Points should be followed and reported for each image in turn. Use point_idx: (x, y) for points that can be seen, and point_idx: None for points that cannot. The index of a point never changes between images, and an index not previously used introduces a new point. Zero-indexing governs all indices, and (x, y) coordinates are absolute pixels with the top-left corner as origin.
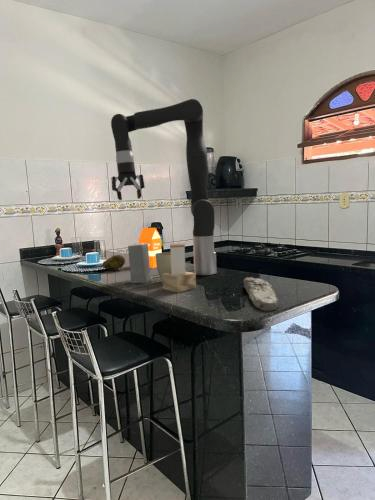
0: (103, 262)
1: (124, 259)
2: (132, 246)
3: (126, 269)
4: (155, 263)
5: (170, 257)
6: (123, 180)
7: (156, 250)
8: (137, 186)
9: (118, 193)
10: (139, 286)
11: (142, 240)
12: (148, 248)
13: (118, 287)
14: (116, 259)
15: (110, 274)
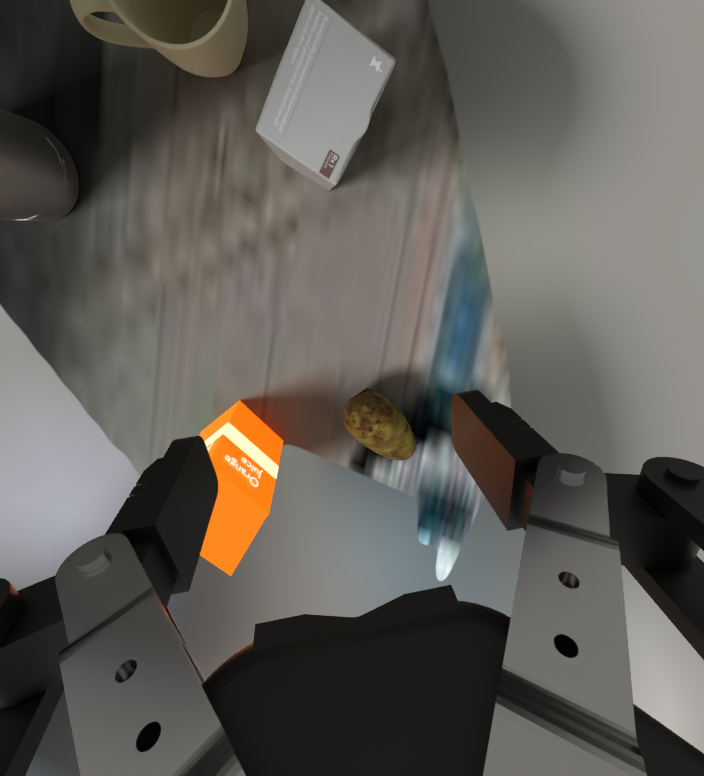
0: (415, 445)
1: (347, 407)
2: (369, 38)
3: (335, 415)
4: (225, 415)
5: None
6: (625, 733)
7: None
8: (123, 593)
9: (539, 449)
10: None
11: (252, 496)
12: (236, 453)
13: (426, 58)
14: (380, 399)
15: (403, 350)
